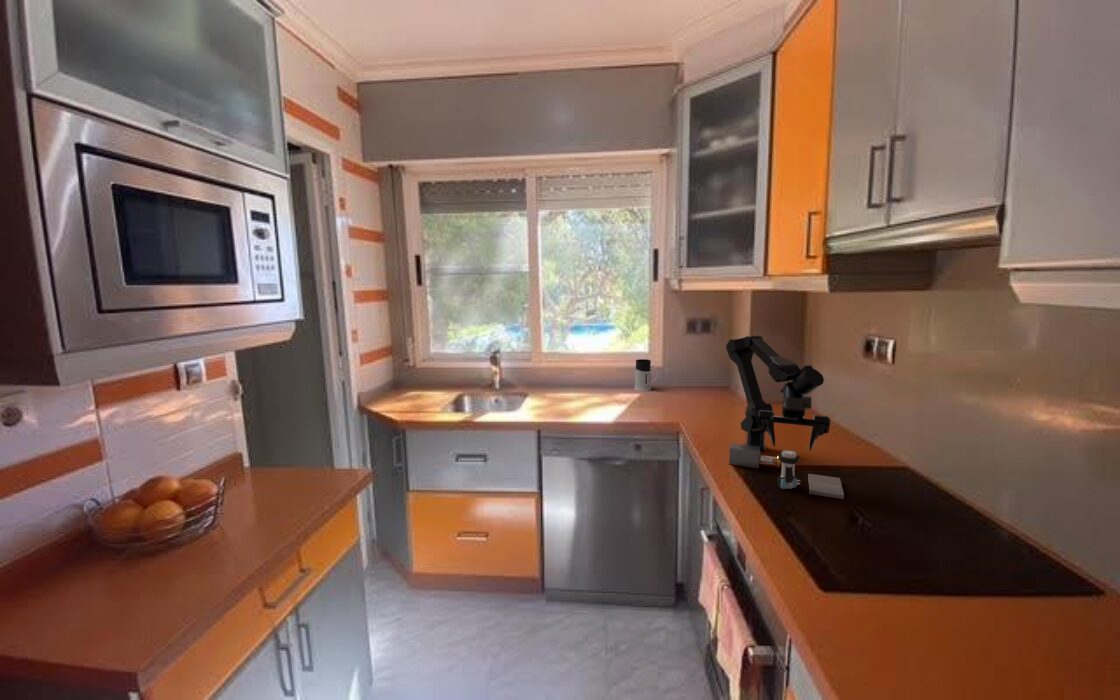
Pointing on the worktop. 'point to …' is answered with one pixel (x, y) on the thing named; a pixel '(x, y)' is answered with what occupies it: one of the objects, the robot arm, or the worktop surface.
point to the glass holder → (643, 375)
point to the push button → (788, 469)
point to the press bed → (825, 486)
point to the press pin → (769, 460)
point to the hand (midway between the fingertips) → (791, 447)
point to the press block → (744, 455)
